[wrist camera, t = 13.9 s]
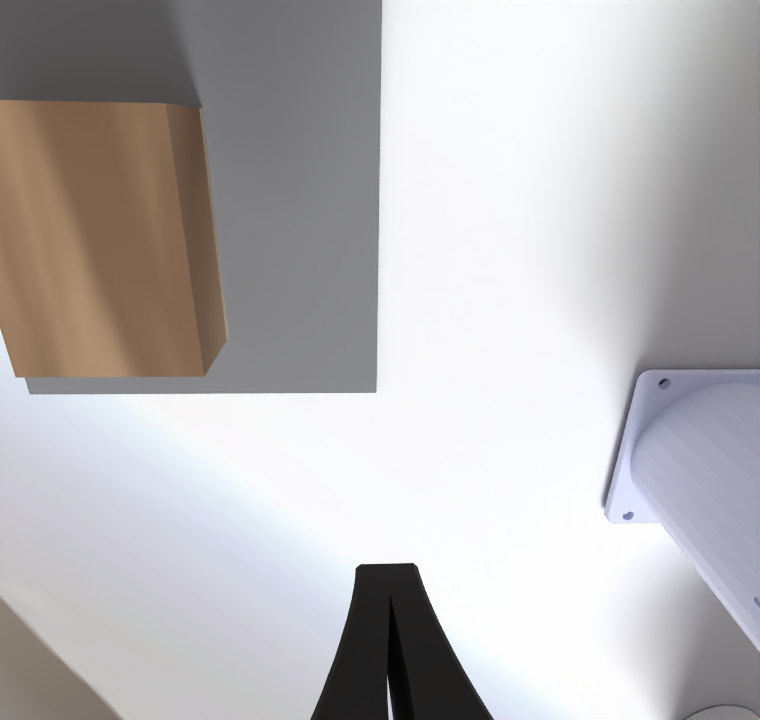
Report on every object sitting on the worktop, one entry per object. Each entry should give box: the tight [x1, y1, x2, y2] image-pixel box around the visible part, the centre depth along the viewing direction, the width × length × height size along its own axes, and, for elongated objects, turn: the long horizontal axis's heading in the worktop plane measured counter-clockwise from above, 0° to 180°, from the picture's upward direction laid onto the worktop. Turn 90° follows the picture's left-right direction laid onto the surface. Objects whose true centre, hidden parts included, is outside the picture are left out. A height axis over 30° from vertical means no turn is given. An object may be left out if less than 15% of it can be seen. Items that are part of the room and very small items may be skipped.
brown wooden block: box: [0, 100, 229, 377], centre depth 16 cm, size 4×8×6 cm
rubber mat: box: [0, 0, 382, 394], centre depth 18 cm, size 14×14×1 cm
